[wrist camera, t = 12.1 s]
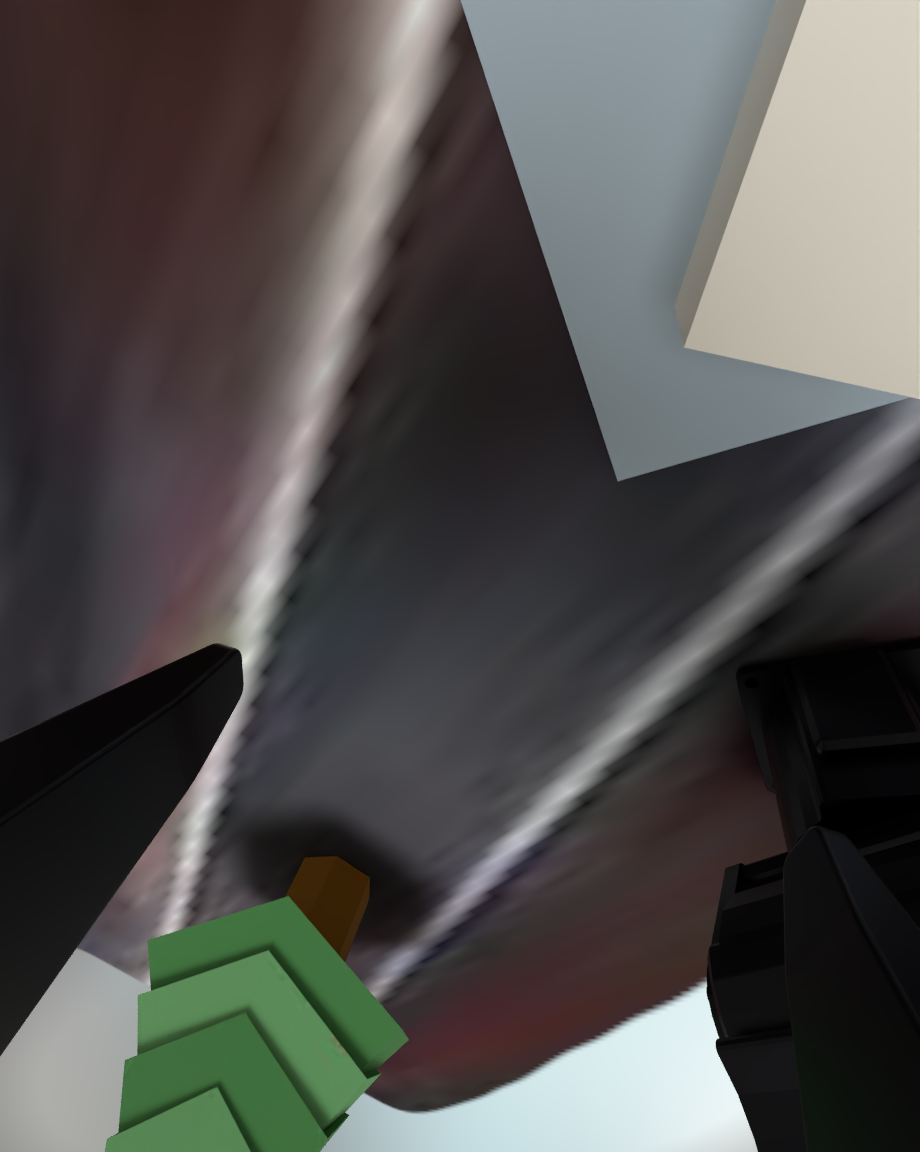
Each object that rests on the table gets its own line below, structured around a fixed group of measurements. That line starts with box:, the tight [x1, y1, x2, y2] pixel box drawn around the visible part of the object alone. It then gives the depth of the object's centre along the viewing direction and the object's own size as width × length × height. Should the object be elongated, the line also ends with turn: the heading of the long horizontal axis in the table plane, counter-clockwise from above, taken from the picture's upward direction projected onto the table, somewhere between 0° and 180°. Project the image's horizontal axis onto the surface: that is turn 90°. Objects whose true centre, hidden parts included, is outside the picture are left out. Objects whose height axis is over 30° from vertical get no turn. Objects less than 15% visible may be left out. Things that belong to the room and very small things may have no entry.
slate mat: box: [461, 0, 910, 481], centre depth 13 cm, size 16×16×1 cm
